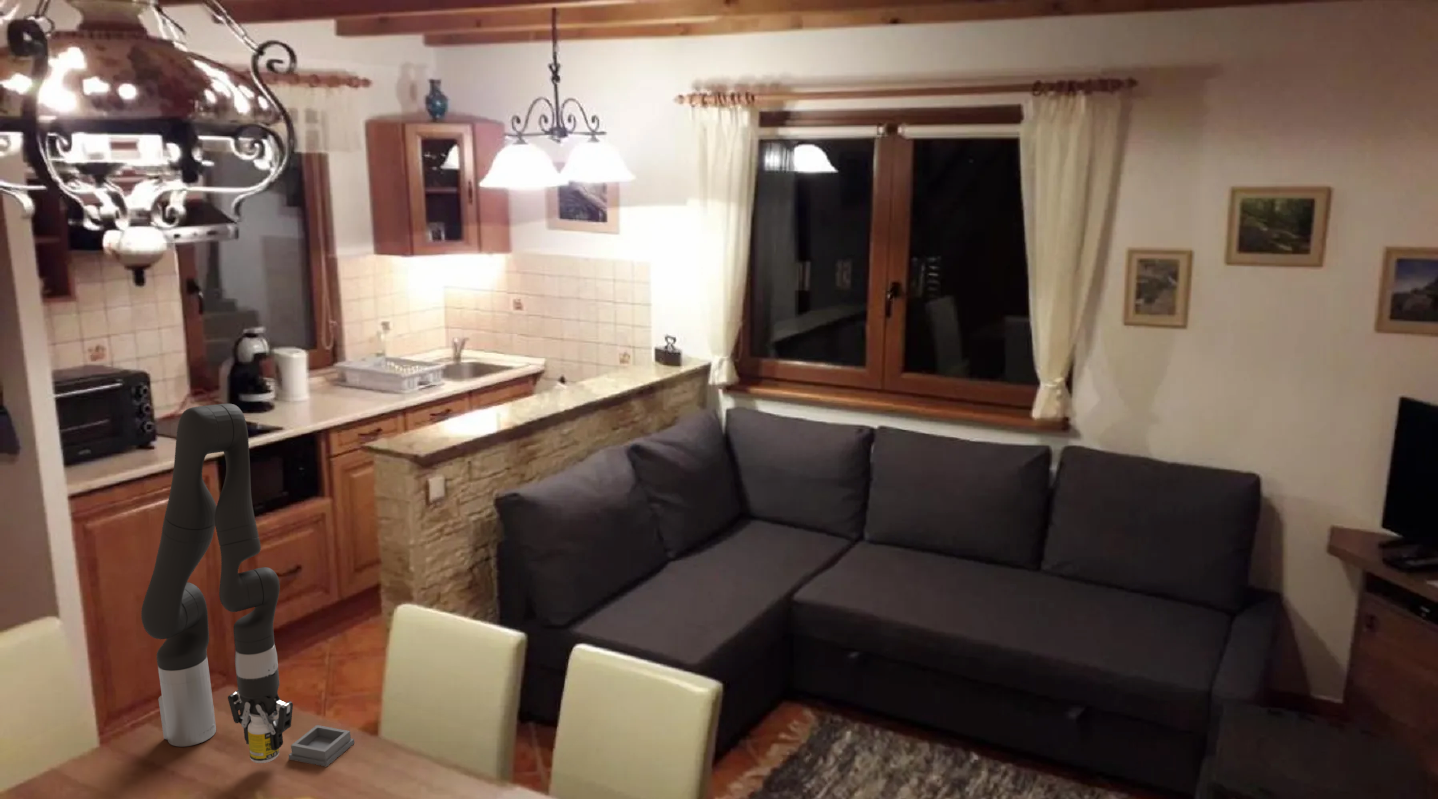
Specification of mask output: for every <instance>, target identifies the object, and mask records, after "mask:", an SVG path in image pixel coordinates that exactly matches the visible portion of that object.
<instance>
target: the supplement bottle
mask: <svg viewBox="0 0 1438 799" xmlns="http://www.w3.org/2000/svg"><path fill="white" fill-rule="evenodd" d="M272 716H273V713H272V714H271V715H270V716H268V717H269V718H270V717H272ZM273 723H274V726H276V723H275V721H274V722H273ZM270 734H271V733H270V730H269V728H268V726H267V725H265V724H264V722H263V720H262V717H261V716H260V715H255V714H251V722H250V723H249V725H248V739H249V744H248V748H249V760H251V761H252V763H255V764H265V763H270V762H272V761H274V760H276V758H278V757H279V755H280V748H279V749H277V750H276V751H274V750H271V741H270Z"/></svg>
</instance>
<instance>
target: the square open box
mask: <svg viewBox="0 0 1438 799" xmlns="http://www.w3.org/2000/svg"><path fill="white" fill-rule="evenodd" d="M353 745H355V738H352V737H351V731H350V730H346V729H340V728H335V727H331V726H323V725H319V724H316V725H314V727H312V728H311V729H310V730H308V731H307V732H306V733H305V734H303V735H302V736H301V737H299V739H297V740H296V741H294V742H293V743H292V744H291V745H290V750H291V752H290V753H289V754H288V760H291V761H294V762H295V761H296V762H301V763H305V764H310V765H315V764H316V765H315V766H320V765H321V767H325V768H326V767H327V768H328V767H329V764H330V763H331V764H333V762H335V760H337V759H338V758H339V757H340V756H341V755H343V754H344V753H345V752H346V751H347V750H348V749H349V748H351V747H352V746H353ZM337 757H338V758H337ZM331 764H330V765H331Z"/></svg>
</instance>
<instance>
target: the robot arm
mask: <svg viewBox="0 0 1438 799" xmlns="http://www.w3.org/2000/svg"><path fill="white" fill-rule="evenodd" d="M246 421H247V420H246V417H245V415H244V413H243V411H242V410H241V408H240V407H239V406H237V405H236V404H232V403H219V404H208V405H207V404H206V405H202V406H194V407H193V406H192V407H190V408H187V409H186V410H184V411H183V412H182V414H181V415H180V418H179V420H178V424H177V430H176V438H175V451H174V460H173V461H174V462H173V472H172V478H171V485H170V491H169V495H168V500H167V505H166V507H165V508H166V509H165V513H164V518H163V523H162V528H161V536H160V541H159V546H158V550H157V555H156V559H155V564H154V568H153V571H152V574H151V578H150V581H149V583H148V588H147V590H146V593H145V596H144V598H143V602H142V605H141V611H140V612H141V615H140V616H141V618H140V619H141V624H142V625H143V628H144V630H145V632H146V633H147V634H148V635H149V637H152V638H153V639H157V640H164V642H163V643H162V644H161V646H160V647H159V648H158V650H157V652H156V662H157V672H158V677H159V684H160V691H161V695H160V696H159V697H158V705H159V713H160V719H161V721H160V722H161V727H162V735H163V739H164V740H167V742H168V743H169V745H171V746H173V747H181V748H182V747H191V746H194V745H198V744H200V743H201V744H202V743H203V742H206V741H208V740H209V739H211V738H212V737H213V736H214V735H215V734H216V732H217V727H216V726H217V724H216V716H215V708H214V702H213V701H214V700H213V691H212V684H211V676H210V668H209V661H208V653H207V652H208V651H207V649H208V647H209V642H210V630H209V629H210V628H209V619H208V618H209V615H208V605H207V601H206V598H205V595H204V593H203V592H202V590H201V589H200V588H199V587H198V586H197V585H195V584H194V583H191V582H189V579H190V578H191V575H192V574H193V572H194V571H195V569H196V568H197V567H198V565H199V563H200V562H201V560H202V559H203V557H204V556H205V554H206V552H208V549H209V547H210V545H211V543H212V541H213V536H214V534H215V530H216V535H217V541H218V546H219V550H220V558H221V560H220V561H221V563H220V566H221V568H220V579H219V590H218V592H219V594H218V595H219V596H218V597H219V600H220V604H221V605H222V607H223V608H224V609H225V610H227V611H228V612H230V613H237V612H241V611H246V610H248V609H253V608H254V609H253V610H252V611H250V612H249V613H247V614H245V615H244V616H242V617H240V618H238V619H236V621H235V623H234V624H233V639H234V647H235V648H234V649H235V654H234V655H235V656H234V663H235V664H234V665H235V674H236V685H237V690H236V691H234V692H232V693H231V694H230V695H228V696H227V700H228V704H229V708H230V711H231V716H232V720H233V722H234V723H235V724H241V727H242V728H243V735H244V736H243V737H244V740H245V743H246V744H247V745H249V739H248V725H249V723H250V722H251V714H255V715H260V716H261V717H262V720H263V722H264V724H265V725H267V726H268V728H269V730H270V733H271V734H270V741H271V750H274V751H276V750H277V749H279V750H280V748H281V747H282V746H283V744H284V741H283V740H284V738H283V737H284V736H283V733H284V732H285V731H287V730H288V729H289V728H291V726H292V719H293V709H294V704H293V702H292V701H290V700H289V701H287V702H285V701H282V700H281V698H280V695H279V694H278V691H279V688H280V672H279V664H278V652H277V649H276V645H275V644H276V643H275V635H274V634H275V633H274V622H275V616H276V615H275V614H276V613H275V612H276V610H277V609H276V608H277V604H278V601H279V596H280V592H281V591H280V590H281V589H280V588H281V587H280V586H281V584H280V583H281V582H280V579H279V576H278V575H277V573H276V572H275V570H273V569H272V568H270V567H265V566H264V567H258V568H255V569H250V570H246V571H242V572H239V569H240V565H241V564H242V563H243V562H244V561H246V560H248V559H250V558H252V557H253V558H254V557H255V556H257V555H258V554H259V553H260V552H261V550H262V549H261V548H262V547H261V546H262V545H261V540H260V536H259V532H258V525H257V521H256V518H255V512H254V507H253V499H252V498H253V497H252V490H251V489H252V487H251V486H252V484H251V460H250V458H251V457H250V447H249V446H250V444H249V432H248V425H247V422H246ZM217 453H223V455H224V459H225V466H226V470H225V479H224V482H223V486H222V489H221V491H220V494H219V498H218V501H217V502H216V501H215V499H214V497H213V495H212V493H211V492H210V489H208V487H207V485H206V483H205V481H204V478H203V469H204V468H203V467H204V462H205V459H206V456H207V455H209V454H211V455H212V454H217ZM165 639H166V640H165ZM272 713H273V716H272V717H270V718H269V717H268V716H270V715H271V714H272ZM274 721H275V723H276V726H274V723H273V722H274Z"/></svg>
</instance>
